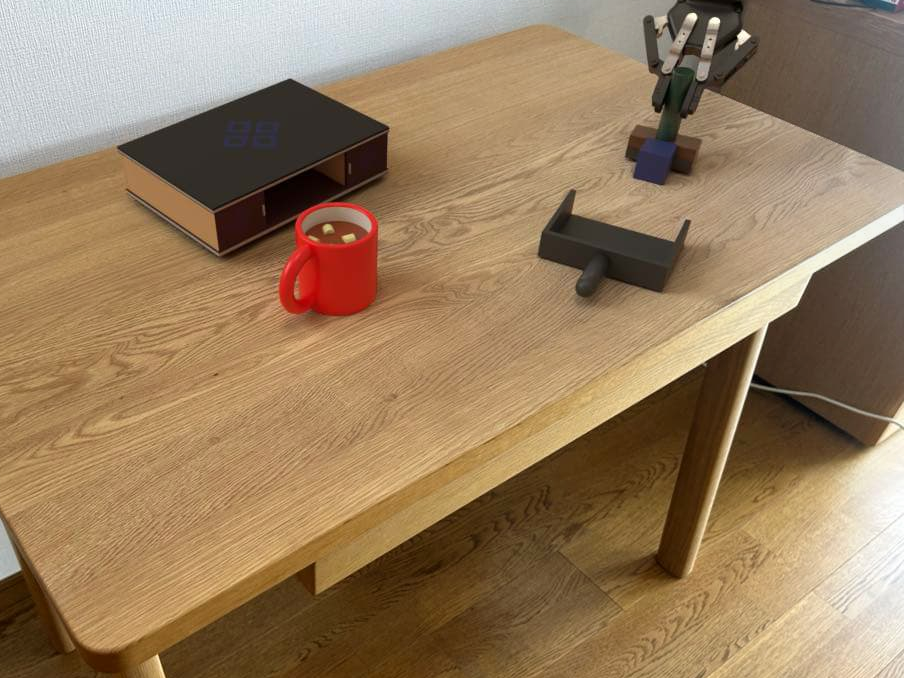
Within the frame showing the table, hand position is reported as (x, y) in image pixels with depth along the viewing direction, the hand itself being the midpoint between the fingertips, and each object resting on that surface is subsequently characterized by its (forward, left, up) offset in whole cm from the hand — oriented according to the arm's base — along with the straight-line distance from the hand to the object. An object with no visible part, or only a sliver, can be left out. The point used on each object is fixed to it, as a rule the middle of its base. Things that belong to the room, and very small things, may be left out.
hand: (670, 112), depth 100 cm
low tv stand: (+43, +21, -8) cm, 48 cm away
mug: (+28, +38, -8) cm, 48 cm away
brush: (0, -2, -7) cm, 7 cm away
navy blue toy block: (0, +1, -7) cm, 7 cm away
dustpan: (+3, +22, -7) cm, 23 cm away
